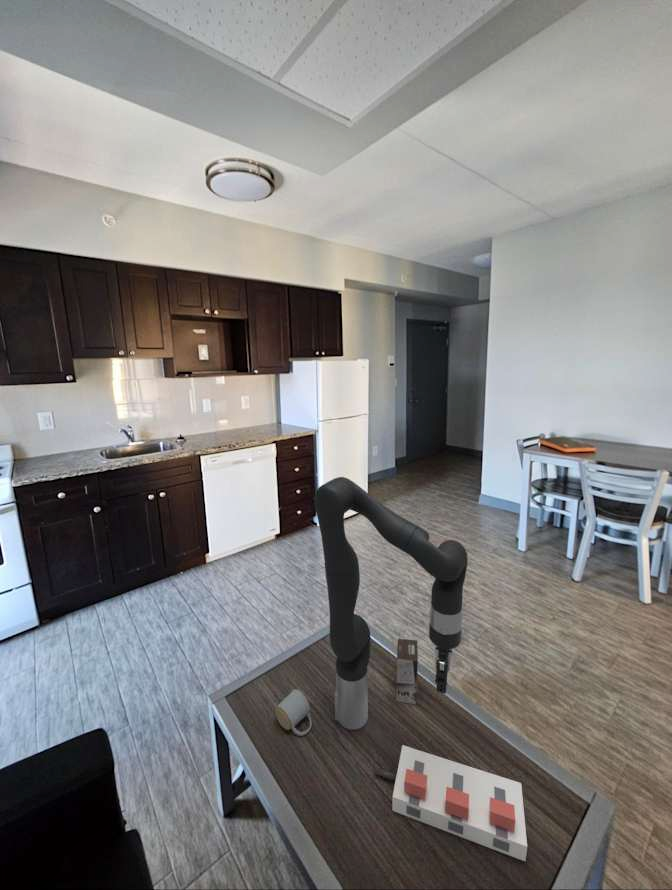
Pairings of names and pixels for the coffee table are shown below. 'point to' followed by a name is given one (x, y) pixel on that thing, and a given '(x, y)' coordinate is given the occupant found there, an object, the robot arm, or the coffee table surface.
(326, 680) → the coffee table surface
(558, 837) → the coffee table surface
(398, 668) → the coffee box
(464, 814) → the toggle
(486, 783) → the slider control panel
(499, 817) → the toggle
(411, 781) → the toggle
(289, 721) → the ceramic mug
